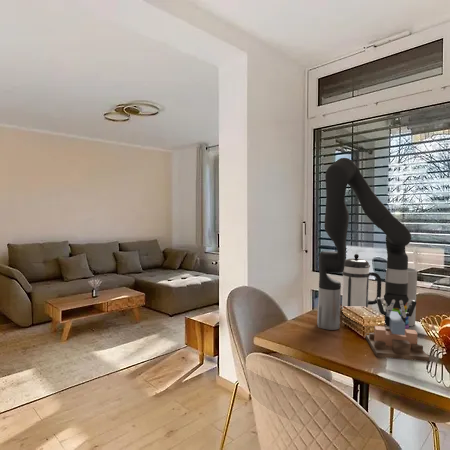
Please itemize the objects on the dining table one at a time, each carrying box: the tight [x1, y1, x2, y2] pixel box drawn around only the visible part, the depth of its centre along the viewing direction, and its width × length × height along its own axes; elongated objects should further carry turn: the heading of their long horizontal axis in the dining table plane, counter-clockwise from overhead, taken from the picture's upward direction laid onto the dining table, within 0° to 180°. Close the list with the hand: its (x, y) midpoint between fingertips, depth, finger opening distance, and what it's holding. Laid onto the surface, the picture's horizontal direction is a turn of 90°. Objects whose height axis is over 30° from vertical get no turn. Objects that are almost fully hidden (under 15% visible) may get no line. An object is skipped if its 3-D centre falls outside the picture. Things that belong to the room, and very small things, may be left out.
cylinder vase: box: [384, 267, 418, 327], centre depth 164 cm, size 12×12×25 cm
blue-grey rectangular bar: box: [389, 311, 405, 335], centre depth 133 cm, size 16×4×4 cm, turn 163°
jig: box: [365, 325, 430, 362], centre depth 133 cm, size 17×20×5 cm
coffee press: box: [340, 253, 382, 311], centre depth 178 cm, size 17×16×30 cm
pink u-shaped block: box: [373, 325, 418, 348], centre depth 133 cm, size 14×4×6 cm, turn 72°
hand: (394, 326), depth 133 cm, fingers closed on blue-grey rectangular bar, 4 cm apart
